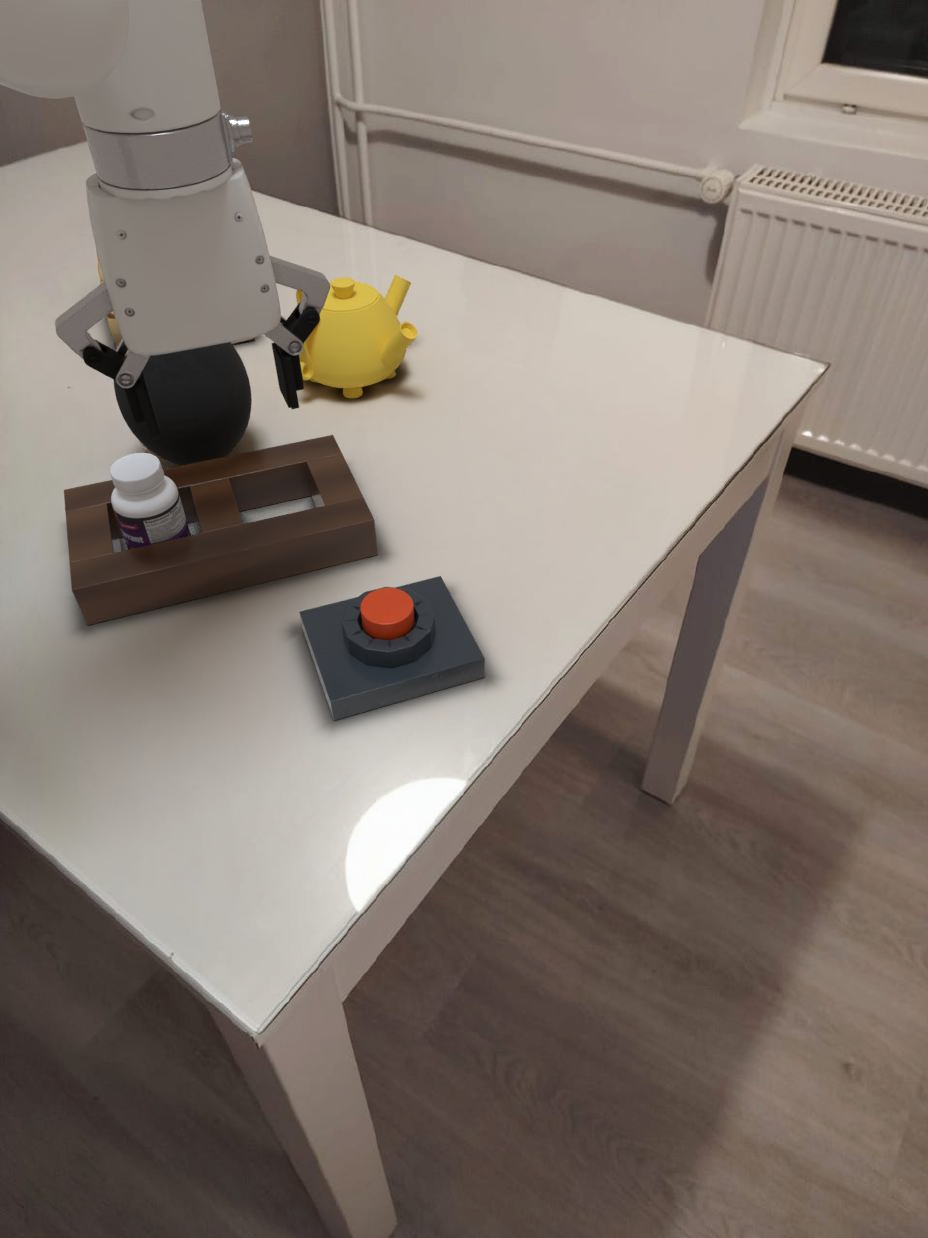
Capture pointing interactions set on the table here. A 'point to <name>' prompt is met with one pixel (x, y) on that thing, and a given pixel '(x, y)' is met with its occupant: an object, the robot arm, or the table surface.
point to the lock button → (387, 613)
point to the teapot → (357, 336)
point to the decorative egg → (194, 403)
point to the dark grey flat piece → (391, 651)
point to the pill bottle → (146, 501)
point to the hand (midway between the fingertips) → (223, 413)
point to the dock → (221, 530)
